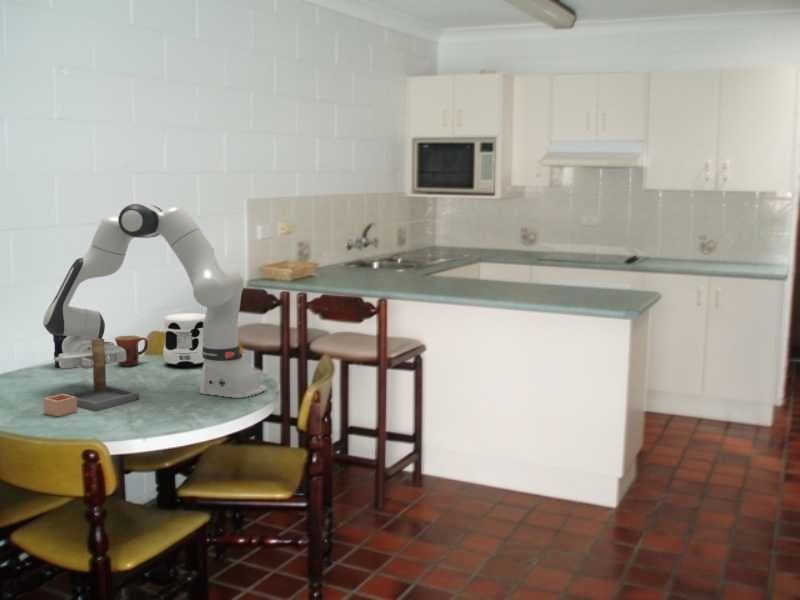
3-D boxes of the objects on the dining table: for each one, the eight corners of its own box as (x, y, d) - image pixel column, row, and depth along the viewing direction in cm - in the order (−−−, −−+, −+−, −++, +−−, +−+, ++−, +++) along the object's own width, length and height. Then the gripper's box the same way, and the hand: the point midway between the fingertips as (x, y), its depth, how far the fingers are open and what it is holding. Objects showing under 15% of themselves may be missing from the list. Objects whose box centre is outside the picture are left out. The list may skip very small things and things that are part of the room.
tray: (139, 399, 268) (138, 392, 268) (95, 410, 255) (95, 403, 255) (106, 391, 277) (105, 385, 277) (62, 402, 264) (62, 395, 264)
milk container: (194, 357, 330) (193, 310, 327) (220, 364, 318) (219, 316, 315) (154, 364, 317) (152, 316, 315) (179, 371, 305) (178, 322, 303)
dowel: (108, 389, 266) (106, 339, 264) (98, 392, 263) (96, 341, 261) (101, 388, 268) (99, 338, 266) (91, 390, 265) (89, 339, 263)
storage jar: (60, 370, 307) (58, 329, 304) (50, 365, 314) (48, 325, 311) (87, 366, 313) (85, 325, 311) (77, 361, 320) (75, 322, 318)
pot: (77, 411, 254) (76, 397, 254) (57, 416, 249) (56, 401, 248) (63, 408, 258) (62, 393, 257) (43, 413, 252) (43, 398, 252)
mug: (121, 368, 309) (120, 340, 308) (112, 364, 316) (111, 337, 314) (153, 364, 317) (152, 337, 315) (143, 360, 324) (142, 333, 322)
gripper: (52, 348, 268) (64, 356, 257) (117, 341, 280) (131, 348, 269) (53, 368, 269) (65, 376, 258) (118, 360, 281) (132, 368, 270)
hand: (99, 362), depth 264 cm, fingers closed on dowel, 4 cm apart
